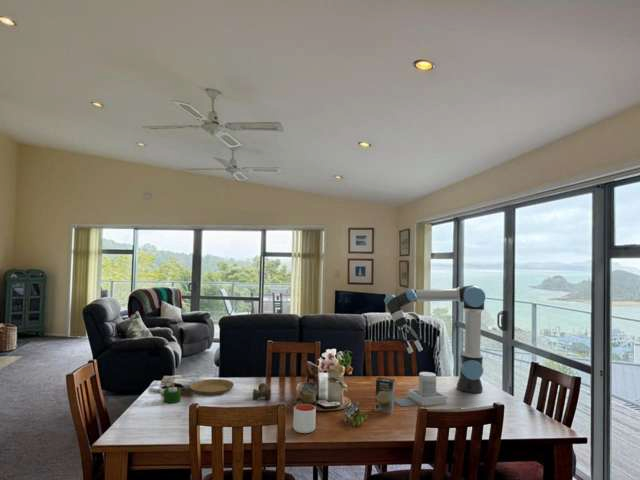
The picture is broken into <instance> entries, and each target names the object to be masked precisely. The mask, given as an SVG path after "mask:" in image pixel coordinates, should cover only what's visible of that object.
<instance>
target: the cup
mask: <svg viewBox="0 0 640 480" xmlns="http://www.w3.org/2000/svg"><path fill="white" fill-rule="evenodd" d="M316 410H317V407H316V406H315V405H313V404H309V403H300V404H295V406H294V407H293V423H292V425H293V426H292V428H293V430H294V431H295V432H297V433H299V434H308V433H309V434H310V433H312V432H314V431H315V429H316V415H317V414H316V413H317V411H316Z"/></svg>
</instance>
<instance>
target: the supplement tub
mask: <svg viewBox="0 0 640 480" xmlns="http://www.w3.org/2000/svg"><path fill="white" fill-rule="evenodd" d="M418 389H419V395H420V396H422V397H423V398H426V397H436V391H437V374H436V373H434V372H430V371H429V372H428V371H420V372H419V373H418Z"/></svg>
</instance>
